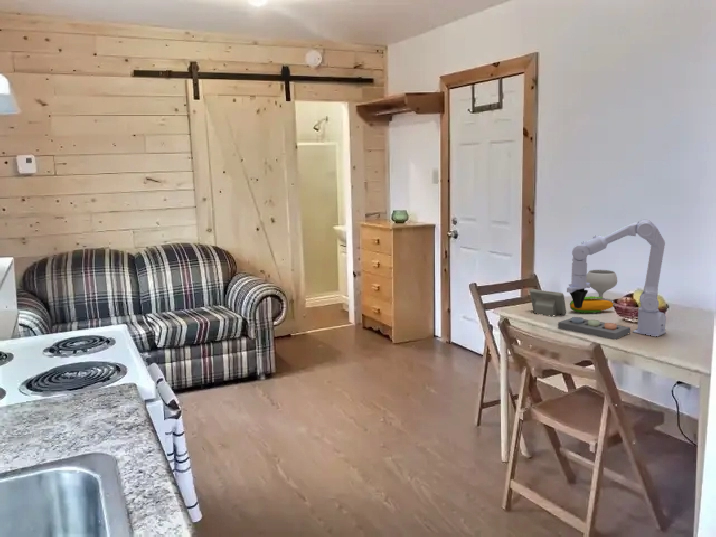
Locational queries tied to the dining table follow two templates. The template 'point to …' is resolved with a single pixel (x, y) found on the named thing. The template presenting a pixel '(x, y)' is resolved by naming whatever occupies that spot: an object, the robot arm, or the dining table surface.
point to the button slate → (577, 320)
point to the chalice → (601, 281)
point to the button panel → (594, 329)
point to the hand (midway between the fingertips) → (577, 307)
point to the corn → (592, 305)
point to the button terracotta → (610, 326)
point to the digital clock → (547, 302)
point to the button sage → (593, 323)
